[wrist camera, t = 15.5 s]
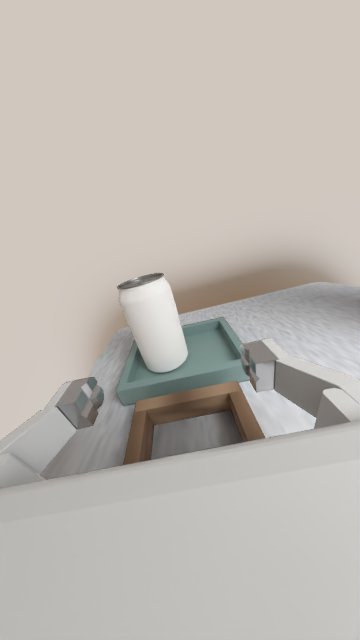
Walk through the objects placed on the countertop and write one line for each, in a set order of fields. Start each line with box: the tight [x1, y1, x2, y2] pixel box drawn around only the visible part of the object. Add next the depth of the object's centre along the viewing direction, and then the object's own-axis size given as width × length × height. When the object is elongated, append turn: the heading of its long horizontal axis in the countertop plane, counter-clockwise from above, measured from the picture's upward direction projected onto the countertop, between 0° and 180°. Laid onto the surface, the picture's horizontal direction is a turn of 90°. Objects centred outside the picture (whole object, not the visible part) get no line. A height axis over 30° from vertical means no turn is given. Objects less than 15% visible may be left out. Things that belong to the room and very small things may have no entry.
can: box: [117, 273, 188, 373], centre depth 21 cm, size 6×6×12 cm
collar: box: [123, 380, 265, 465], centre depth 12 cm, size 10×10×2 cm
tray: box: [116, 317, 250, 406], centre depth 24 cm, size 16×12×2 cm
